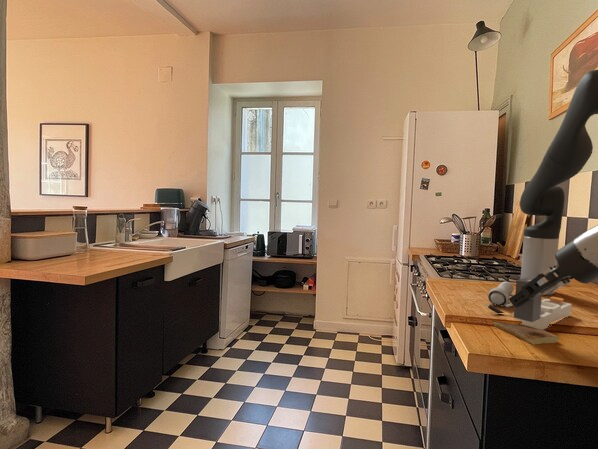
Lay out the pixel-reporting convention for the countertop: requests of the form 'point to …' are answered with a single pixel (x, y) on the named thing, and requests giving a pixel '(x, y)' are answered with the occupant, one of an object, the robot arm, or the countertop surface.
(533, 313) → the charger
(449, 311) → the countertop surface
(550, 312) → the power strip
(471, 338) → the countertop surface
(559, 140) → the robot arm
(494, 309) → the clip-on lamp
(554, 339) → the shard
